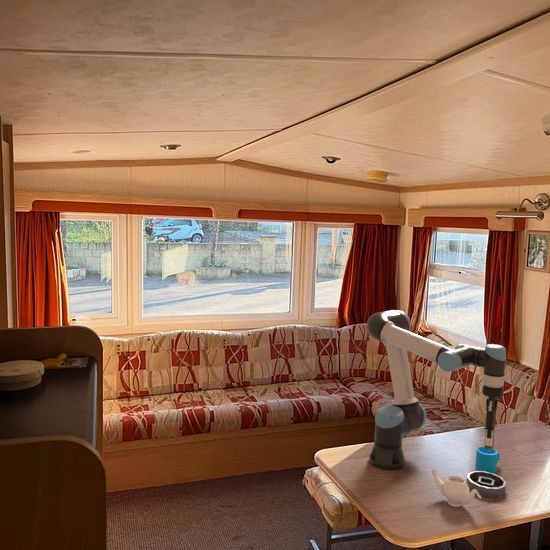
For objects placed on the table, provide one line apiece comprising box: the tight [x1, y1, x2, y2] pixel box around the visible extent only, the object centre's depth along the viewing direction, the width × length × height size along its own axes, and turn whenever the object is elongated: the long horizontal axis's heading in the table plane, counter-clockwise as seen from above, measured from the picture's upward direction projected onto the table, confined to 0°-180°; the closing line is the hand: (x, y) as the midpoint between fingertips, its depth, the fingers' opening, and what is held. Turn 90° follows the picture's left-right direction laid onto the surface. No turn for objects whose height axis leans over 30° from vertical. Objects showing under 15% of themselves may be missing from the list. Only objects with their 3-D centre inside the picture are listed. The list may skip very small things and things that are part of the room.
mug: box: [475, 446, 500, 474], centre depth 228 cm, size 12×8×8 cm
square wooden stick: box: [484, 415, 497, 450], centre depth 208 cm, size 3×3×13 cm
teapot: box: [431, 469, 482, 508], centre depth 198 cm, size 10×20×9 cm, turn 42°
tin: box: [466, 470, 507, 498], centre depth 211 cm, size 14×14×4 cm
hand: (489, 443), depth 209 cm, fingers closed on square wooden stick, 3 cm apart
